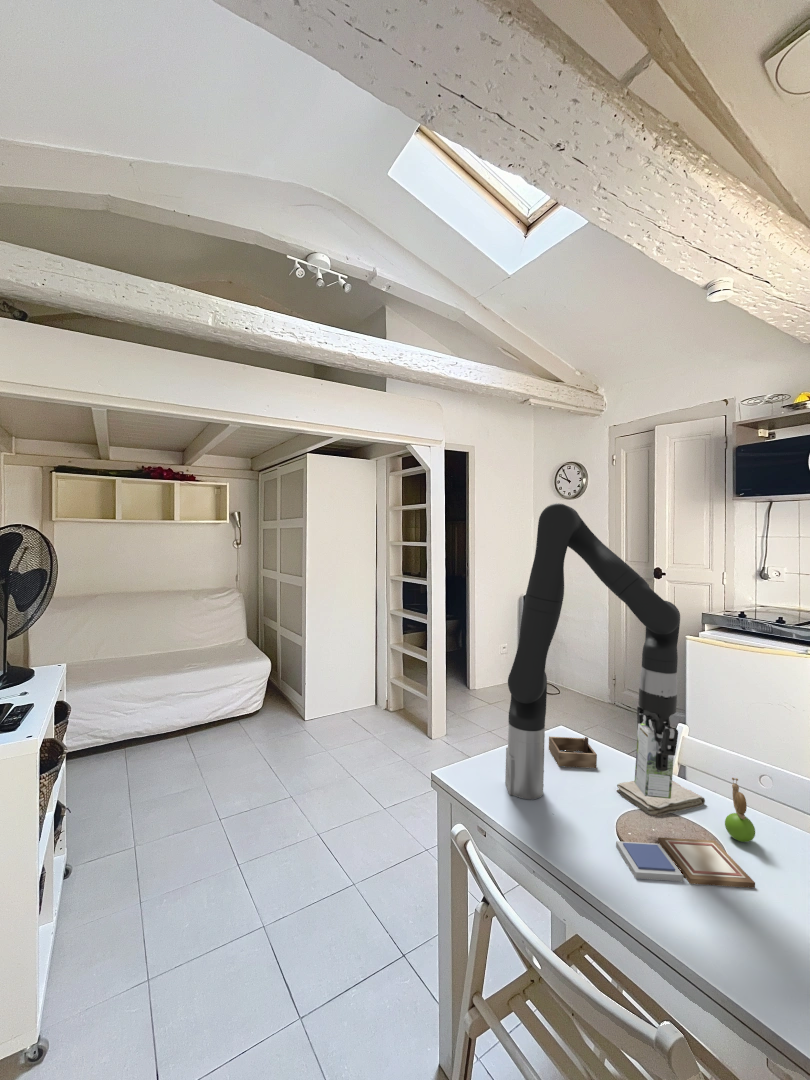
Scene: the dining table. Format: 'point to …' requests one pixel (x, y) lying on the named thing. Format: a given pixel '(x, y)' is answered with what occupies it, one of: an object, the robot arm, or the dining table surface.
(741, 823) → the snail figurine
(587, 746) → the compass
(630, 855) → the ink pad
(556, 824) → the dining table surface
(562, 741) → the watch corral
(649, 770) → the syrup box
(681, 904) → the dining table surface
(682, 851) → the board
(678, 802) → the washcloth
